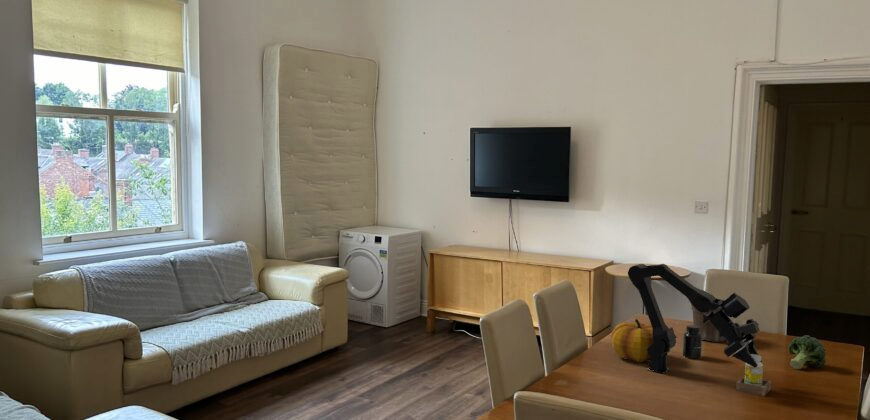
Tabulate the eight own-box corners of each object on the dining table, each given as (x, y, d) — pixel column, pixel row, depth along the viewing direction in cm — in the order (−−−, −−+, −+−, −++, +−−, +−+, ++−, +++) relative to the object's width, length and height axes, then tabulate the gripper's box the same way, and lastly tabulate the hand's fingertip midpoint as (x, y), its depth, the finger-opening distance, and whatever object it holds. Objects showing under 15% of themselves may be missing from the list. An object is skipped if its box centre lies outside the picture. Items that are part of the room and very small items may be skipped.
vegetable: (771, 357, 249) (793, 335, 255) (798, 385, 245) (819, 362, 251) (791, 346, 238) (813, 324, 245) (820, 375, 234) (841, 351, 241)
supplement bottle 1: (698, 360, 252) (699, 329, 251) (680, 357, 256) (681, 326, 255) (703, 356, 257) (704, 326, 256) (685, 353, 261) (686, 323, 260)
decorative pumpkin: (611, 364, 246) (612, 324, 245) (610, 347, 268) (611, 311, 267) (668, 368, 242) (670, 328, 240) (662, 351, 263) (664, 314, 262)
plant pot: (680, 335, 288) (681, 298, 287) (711, 332, 293) (712, 296, 292) (706, 345, 273) (707, 306, 272) (738, 342, 278) (739, 304, 276)
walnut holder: (764, 396, 214) (764, 388, 213) (736, 390, 219) (736, 382, 219) (770, 389, 220) (771, 381, 220) (743, 383, 226) (743, 375, 226)
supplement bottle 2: (763, 387, 216) (765, 358, 216) (746, 385, 218) (747, 357, 217) (759, 382, 222) (761, 354, 221) (742, 380, 223) (744, 352, 222)
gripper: (736, 317, 213) (772, 357, 207) (751, 307, 227) (785, 345, 222) (709, 336, 219) (743, 376, 213) (726, 326, 233) (758, 363, 227)
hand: (758, 364), depth 218 cm, fingers closed on supplement bottle 2, 5 cm apart
